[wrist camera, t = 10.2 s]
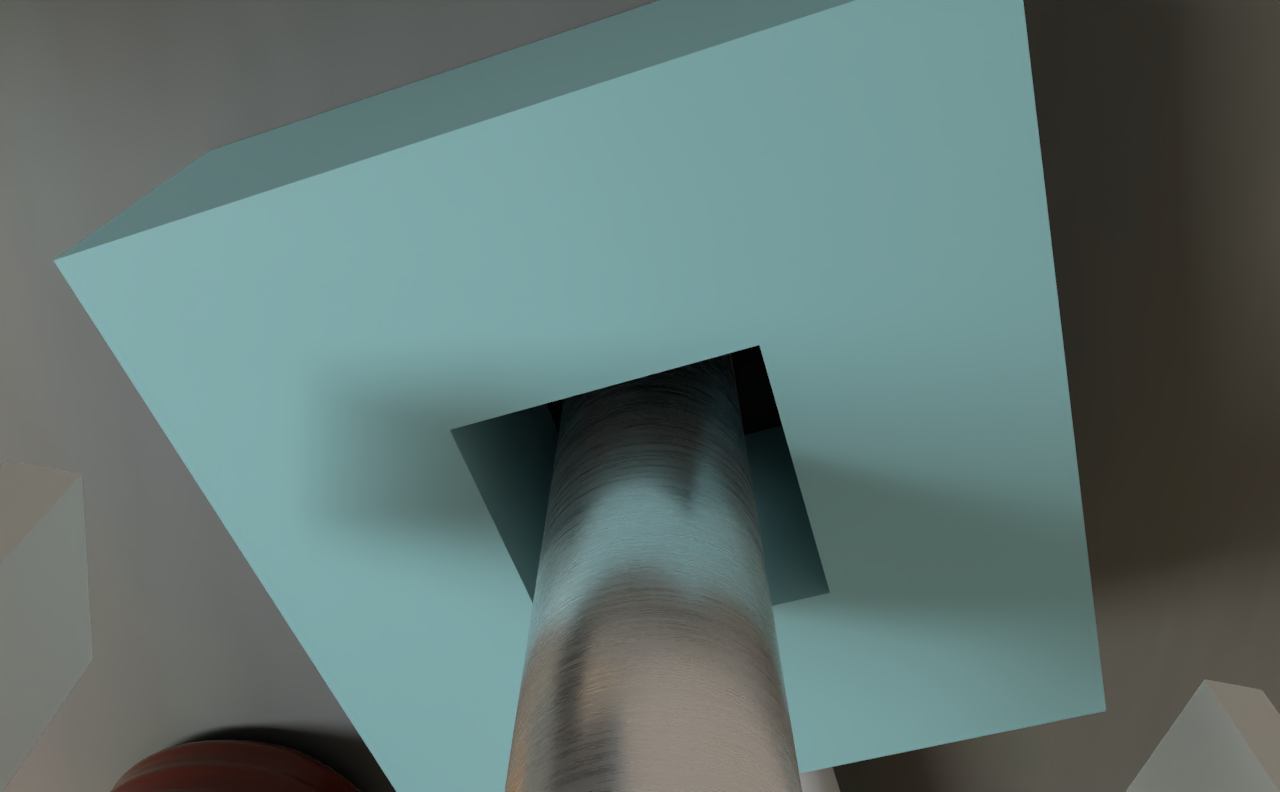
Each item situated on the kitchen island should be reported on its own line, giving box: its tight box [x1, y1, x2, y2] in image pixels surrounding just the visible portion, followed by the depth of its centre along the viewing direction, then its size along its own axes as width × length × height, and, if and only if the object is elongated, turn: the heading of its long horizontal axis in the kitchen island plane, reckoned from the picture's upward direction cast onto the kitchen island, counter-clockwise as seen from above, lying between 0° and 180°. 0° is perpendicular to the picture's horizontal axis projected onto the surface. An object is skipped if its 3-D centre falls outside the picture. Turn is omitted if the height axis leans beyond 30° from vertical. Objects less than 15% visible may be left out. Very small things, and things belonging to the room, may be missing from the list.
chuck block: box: [54, 0, 1106, 792], centre depth 19 cm, size 22×12×5 cm, turn 18°
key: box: [505, 353, 802, 792], centre depth 13 cm, size 6×3×14 cm, turn 167°
